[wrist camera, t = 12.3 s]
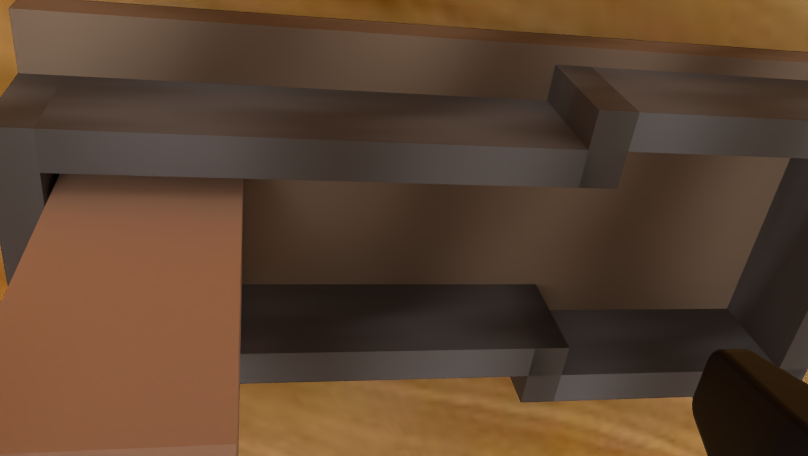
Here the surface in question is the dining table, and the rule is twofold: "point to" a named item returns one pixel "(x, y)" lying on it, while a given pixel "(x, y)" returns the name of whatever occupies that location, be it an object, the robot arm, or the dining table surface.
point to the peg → (126, 321)
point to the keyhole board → (445, 188)
